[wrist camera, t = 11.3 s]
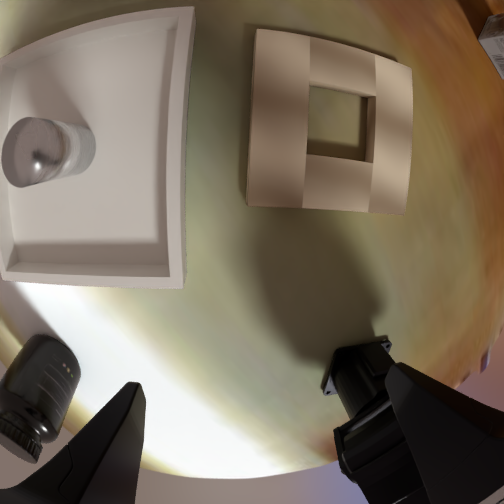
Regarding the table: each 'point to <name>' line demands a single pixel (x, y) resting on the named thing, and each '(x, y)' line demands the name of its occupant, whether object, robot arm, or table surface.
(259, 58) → the socket block
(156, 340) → the table surface
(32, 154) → the steel pin
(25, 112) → the tray
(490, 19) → the coffee box
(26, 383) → the supplement bottle
